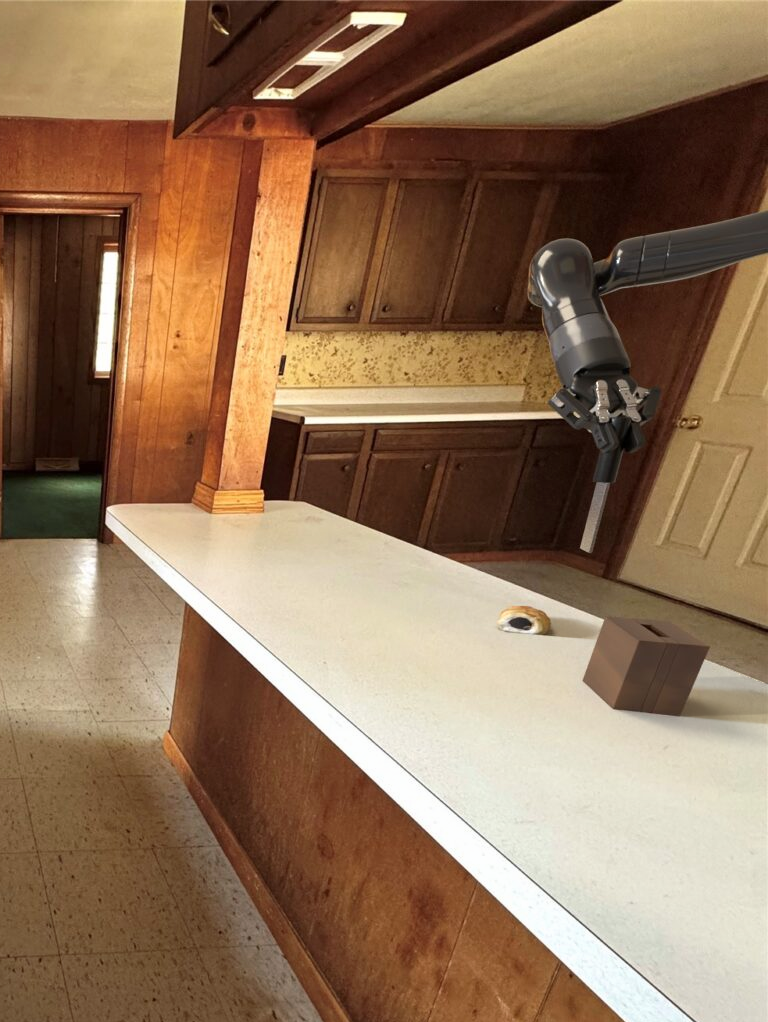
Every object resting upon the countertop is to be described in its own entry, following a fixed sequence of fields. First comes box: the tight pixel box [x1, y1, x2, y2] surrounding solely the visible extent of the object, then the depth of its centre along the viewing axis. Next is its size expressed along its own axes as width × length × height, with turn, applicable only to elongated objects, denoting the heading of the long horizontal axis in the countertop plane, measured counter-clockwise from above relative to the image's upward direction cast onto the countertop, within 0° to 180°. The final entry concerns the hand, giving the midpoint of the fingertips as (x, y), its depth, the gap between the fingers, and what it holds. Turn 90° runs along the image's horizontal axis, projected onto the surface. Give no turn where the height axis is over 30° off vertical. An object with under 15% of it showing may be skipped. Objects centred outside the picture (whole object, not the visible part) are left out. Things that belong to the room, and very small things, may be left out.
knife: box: [579, 416, 632, 554], centre depth 95 cm, size 2×3×19 cm
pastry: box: [496, 605, 552, 636], centre depth 112 cm, size 9×7×4 cm
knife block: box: [582, 615, 711, 717], centre depth 88 cm, size 7×8×11 cm
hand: (623, 448), depth 92 cm, fingers closed on knife, 2 cm apart
